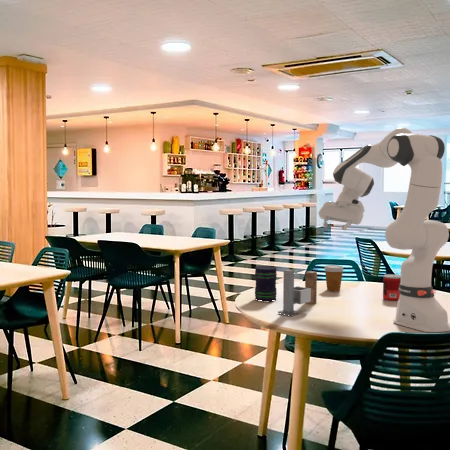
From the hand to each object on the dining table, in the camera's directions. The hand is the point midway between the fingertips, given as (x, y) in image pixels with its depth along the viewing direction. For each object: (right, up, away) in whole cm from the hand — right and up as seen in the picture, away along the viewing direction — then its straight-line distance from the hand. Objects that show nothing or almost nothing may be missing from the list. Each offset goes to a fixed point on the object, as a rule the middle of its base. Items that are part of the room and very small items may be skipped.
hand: (334, 227), depth 233 cm
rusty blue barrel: (-30, -33, +4) cm, 45 cm away
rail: (-11, -33, -3) cm, 35 cm away
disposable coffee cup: (+5, -31, +26) cm, 41 cm away
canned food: (+28, -33, +6) cm, 44 cm away
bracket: (-21, -35, -19) cm, 45 cm away
